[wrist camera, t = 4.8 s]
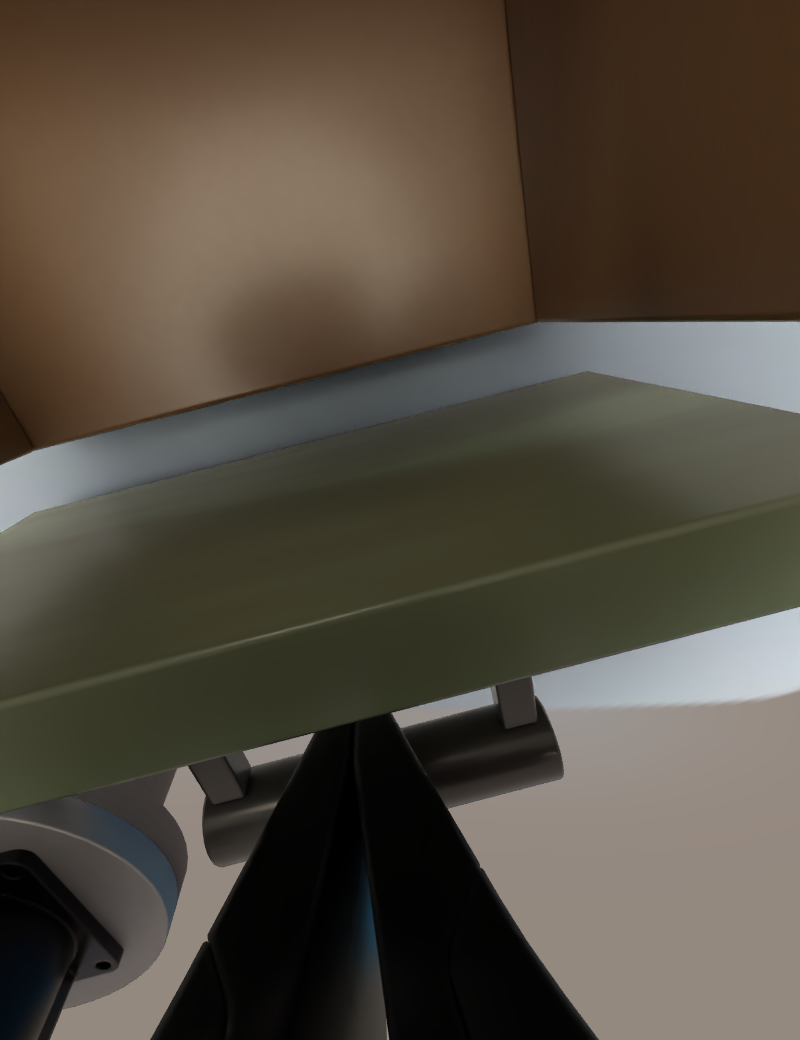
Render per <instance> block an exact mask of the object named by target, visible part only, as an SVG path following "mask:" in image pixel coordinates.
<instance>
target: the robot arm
mask: <svg viewBox="0 0 800 1040" xmlns="http://www.w3.org/2000/svg"><path fill="white" fill-rule="evenodd" d="M208 941H209V942H207V941H206V942H204V943H203V944H202V946H201V948H200V950H199V952H198V953H197V955H196V957H195V959H194V961H193V963H192V965H191V967H190V968H189V970H188V972H187V974H186V976H185V978H184V980H183V982H182V983H181V985H180V987H179V989H178V991H177V992H176V994H175V996H174V998H173V1000H172V1002H171V1003H170V1005H169V1007H168V1009H167V1011H166V1012H165V1014H164V1016H163V1018H162V1020H161V1021H160V1023H159V1025H158V1027H157V1029H156V1031H155V1032H154V1034H153V1036H152V1038H151V1039H150V1040H387V1035H386V1034H387V1033H386V1032H387V1031H386V1019H387V1026H388V1034H389V1040H599V1039H598V1038H597V1037H596V1035H595V1034H594V1033H593V1031H592V1030H591V1029H590V1027H589V1026H588V1025H587V1023H586V1022H585V1021H584V1020H583V1018H582V1017H581V1015H580V1014H579V1013H578V1011H577V1010H576V1009H575V1007H574V1006H573V1005H572V1003H571V1002H570V1001H569V999H568V998H567V997H566V995H565V994H564V993H563V991H562V990H561V988H560V987H559V986H558V984H557V983H556V981H555V980H554V978H553V977H552V976H551V974H550V973H549V971H548V970H547V969H546V967H545V966H544V964H543V963H542V962H541V960H540V959H539V957H538V956H537V955H536V953H535V952H534V950H533V949H532V947H531V946H530V945H529V943H528V942H527V940H526V939H525V937H524V935H523V934H522V932H521V931H520V929H519V928H518V926H517V924H516V923H515V921H514V920H513V918H512V916H511V915H510V913H509V912H508V910H507V908H506V907H505V905H504V904H503V902H502V900H501V899H500V897H499V896H498V894H497V892H496V890H495V889H494V887H493V885H492V884H491V882H490V880H489V878H488V877H487V875H486V873H485V871H484V870H483V869H482V868H480V864H479V862H478V860H477V859H476V857H475V855H474V853H473V852H472V850H471V848H470V847H469V845H468V843H467V841H466V840H465V838H464V836H463V834H462V833H461V831H460V829H459V828H458V826H457V824H456V823H455V821H454V819H453V818H452V816H451V814H450V812H449V811H448V809H447V807H446V805H445V804H444V802H443V800H442V799H441V797H440V795H439V794H438V792H437V790H436V788H435V787H434V785H433V783H432V782H431V780H430V778H429V776H428V775H427V773H426V771H425V770H424V768H423V766H422V764H421V763H420V761H419V759H418V758H417V756H416V754H415V753H414V751H413V749H412V747H411V746H410V744H409V742H408V741H407V739H406V737H405V735H404V734H403V732H402V730H401V729H400V727H399V725H398V724H397V722H396V720H395V719H394V717H393V715H392V713H388V714H385V715H381V716H377V717H373V718H369V719H365V720H361V721H358V722H354V723H350V724H346V725H342V726H338V727H334V728H331V729H327V730H323V731H319V732H315V733H314V735H313V737H312V739H311V741H310V743H309V744H308V746H307V748H306V750H305V752H304V754H303V756H302V758H301V760H300V761H299V763H298V765H297V767H296V769H295V771H294V773H293V775H292V776H291V778H290V780H289V782H288V784H287V786H286V788H285V790H284V792H283V793H282V795H281V797H280V799H279V801H278V803H277V805H276V807H275V809H274V810H273V812H272V814H271V816H270V818H269V820H268V822H267V824H266V826H265V827H264V829H263V831H262V833H261V835H260V837H259V839H258V841H257V843H256V844H255V846H254V848H253V850H252V852H251V854H250V856H249V858H248V860H247V861H246V864H245V865H244V867H243V869H242V871H241V873H240V875H239V877H238V878H237V880H236V882H235V884H234V886H233V888H232V890H231V892H230V894H229V895H228V898H227V899H226V901H225V903H224V905H223V907H222V909H221V910H220V912H219V914H218V916H217V918H216V920H215V922H214V924H213V926H212V927H211V929H210V931H209V933H208ZM123 953H124V949H123V947H122V946H121V945H120V944H119V943H118V942H117V941H116V940H115V939H114V938H113V936H112V935H111V934H110V933H109V932H108V931H107V930H106V929H105V928H104V927H103V926H102V925H101V924H100V922H99V921H98V920H97V919H96V918H95V917H94V916H93V915H92V914H91V913H90V912H89V911H88V910H87V908H86V907H85V906H84V905H83V904H82V903H81V902H80V901H79V900H78V899H77V898H76V897H75V895H74V894H73V893H72V892H71V891H70V890H69V889H68V888H67V887H66V886H65V885H64V884H63V883H62V881H61V880H60V879H59V878H58V877H57V876H56V875H55V874H54V873H53V872H52V871H51V870H50V869H49V867H48V866H47V865H46V864H45V863H44V862H43V861H42V860H41V859H40V858H39V857H38V856H37V855H36V854H35V853H33V852H31V851H28V850H25V849H14V850H9V851H5V852H1V853H0V1040H50V1038H51V1035H52V1033H53V1030H54V1028H55V1026H56V1023H57V1021H58V1018H59V1016H60V1013H61V1011H62V1009H63V1006H64V1004H65V1001H66V999H67V997H68V994H69V992H70V989H71V987H72V985H73V982H76V981H80V980H84V979H88V978H91V977H95V976H99V975H103V974H107V973H110V972H113V971H115V970H116V969H117V968H118V967H119V964H120V961H121V958H122V956H123Z"/></svg>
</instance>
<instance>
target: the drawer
mask: <svg viewBox="0 0 800 1040" xmlns="http://www.w3.org/2000/svg"><path fill="white" fill-rule="evenodd" d="M537 322H800V0H0V465H2V464H4V463H6V462H9V461H11V460H14V459H16V458H19V457H21V456H23V455H26V454H28V453H31V452H32V451H35V450H39V449H43V448H47V447H51V446H55V445H59V444H62V443H66V442H70V441H74V440H78V439H82V438H86V437H90V436H94V435H98V434H102V433H106V432H110V431H113V430H117V429H121V428H125V427H129V426H133V425H137V424H141V423H145V422H149V421H153V420H157V419H161V418H165V417H168V416H172V415H176V414H180V413H184V412H188V411H192V410H196V409H200V408H204V407H208V406H212V405H216V404H219V403H223V402H227V401H231V400H235V399H239V398H243V397H247V396H251V395H255V394H259V393H263V392H267V391H271V390H274V389H278V388H282V387H286V386H290V385H294V384H298V383H302V382H306V381H310V380H314V379H318V378H322V377H325V376H329V375H333V374H337V373H341V372H345V371H349V370H353V369H357V368H361V367H365V366H369V365H373V364H377V363H380V362H384V361H388V360H392V359H396V358H400V357H404V356H408V355H412V354H416V353H420V352H424V351H428V350H431V349H435V348H439V347H443V346H447V345H451V344H455V343H459V342H463V341H467V340H471V339H475V338H479V337H482V336H486V335H490V334H494V333H498V332H502V331H506V330H510V329H514V328H518V327H522V326H526V325H530V324H534V323H537ZM797 607H800V414H799V413H794V412H789V411H784V410H779V409H774V408H769V407H764V406H759V405H754V404H749V403H744V402H739V401H734V400H729V399H724V398H719V397H714V396H709V395H704V394H699V393H694V392H689V391H684V390H679V389H674V388H669V387H664V386H659V385H654V384H649V383H644V382H639V381H634V380H629V379H624V378H619V377H614V376H609V375H604V374H599V373H594V372H589V371H586V372H582V373H578V374H574V375H571V376H567V377H563V378H559V379H555V380H551V381H547V382H543V383H539V384H535V385H531V386H527V387H524V388H520V389H516V390H512V391H508V392H504V393H500V394H496V395H492V396H488V397H484V398H481V399H477V400H473V401H469V402H465V403H461V404H457V405H453V406H449V407H445V408H441V409H437V410H434V411H430V412H426V413H422V414H418V415H414V416H410V417H406V418H402V419H398V420H394V421H391V422H387V423H383V424H379V425H375V426H371V427H367V428H363V429H359V430H355V431H351V432H347V433H344V434H340V435H336V436H332V437H328V438H324V439H320V440H316V441H312V442H308V443H304V444H301V445H297V446H293V447H289V448H285V449H281V450H277V451H273V452H269V453H265V454H261V455H257V456H254V457H250V458H246V459H242V460H238V461H234V462H230V463H226V464H222V465H218V466H214V467H211V468H207V469H203V470H199V471H195V472H191V473H187V474H183V475H179V476H175V477H171V478H167V479H164V480H160V481H156V482H152V483H148V484H144V485H140V486H136V487H132V488H128V489H124V490H121V491H117V492H113V493H109V494H105V495H101V496H97V497H93V498H89V499H85V500H81V501H77V502H74V503H70V504H66V505H62V506H58V507H54V508H50V509H46V510H42V511H38V512H34V513H33V514H31V515H30V516H28V517H26V518H25V519H23V520H21V521H20V522H18V523H16V524H15V525H13V526H11V527H10V528H8V529H6V530H5V531H3V532H2V533H0V814H3V813H7V812H11V811H15V810H18V809H22V808H26V807H30V806H34V805H38V804H42V803H45V802H49V801H53V800H57V799H61V798H65V797H69V796H72V795H76V794H80V793H84V792H88V791H92V790H95V789H99V788H103V787H107V786H111V785H115V784H119V783H122V782H126V781H130V780H134V779H138V778H142V777H146V776H149V775H153V774H157V773H161V772H165V771H169V770H173V769H176V768H180V767H184V766H188V767H189V769H190V770H191V772H192V773H193V775H194V777H195V778H196V780H197V782H198V783H199V784H200V786H201V788H202V790H203V791H204V793H205V795H206V797H205V801H204V806H203V818H202V819H203V820H202V827H203V837H204V844H205V848H206V851H207V854H208V856H209V858H210V860H211V861H212V862H213V864H214V865H216V866H218V867H226V866H229V865H233V864H237V863H241V862H245V861H247V860H248V858H249V856H250V854H251V852H252V850H253V848H254V846H255V844H256V843H257V841H258V839H259V837H260V835H261V833H262V831H263V829H264V827H265V826H266V824H267V822H268V820H269V818H270V816H271V814H272V812H273V810H274V809H275V807H276V805H277V803H278V801H279V799H280V797H281V795H282V793H283V792H284V790H285V788H286V786H287V784H288V782H289V780H290V778H291V776H292V775H293V773H294V771H295V769H296V767H297V765H298V763H299V761H300V760H301V758H302V756H303V754H304V753H303V754H299V755H296V756H292V757H288V758H284V759H281V760H277V761H273V762H269V763H265V764H261V765H257V766H253V767H251V766H250V764H249V762H248V760H247V758H246V757H245V755H244V753H243V751H246V750H249V749H253V748H257V747H261V746H265V745H269V744H273V743H276V742H280V741H284V740H288V739H292V738H296V737H299V736H304V735H307V734H311V733H315V732H319V731H323V730H327V729H331V728H334V727H338V726H342V725H346V724H350V723H354V722H358V721H361V720H365V719H369V718H373V717H377V716H381V715H385V714H388V713H392V712H396V711H400V710H404V709H408V708H412V707H415V706H419V705H423V704H427V703H431V702H435V701H439V700H442V699H446V698H450V697H454V696H458V695H462V694H466V693H469V692H473V691H477V690H481V689H485V688H489V687H491V691H492V696H493V701H494V704H492V705H488V706H484V707H480V708H477V709H473V710H469V711H465V712H461V713H457V714H454V715H450V716H446V717H442V718H438V719H435V720H431V721H427V722H423V723H419V724H415V725H411V726H408V727H404V728H400V729H401V730H402V732H403V734H404V735H405V737H406V739H407V741H408V742H409V744H410V746H411V747H412V749H413V751H414V753H415V754H416V756H417V758H418V759H419V761H420V763H421V764H422V766H423V768H424V770H425V771H426V773H427V775H428V776H429V778H430V780H431V782H432V783H433V785H434V787H435V788H436V790H437V792H438V794H439V795H440V797H441V799H442V800H443V802H444V804H445V805H446V807H447V809H448V808H452V807H455V806H459V805H463V804H467V803H471V802H474V801H478V800H482V799H486V798H490V797H494V796H497V795H501V794H505V793H509V792H513V791H517V790H521V789H524V788H528V787H532V786H536V785H540V784H544V783H547V782H551V781H555V780H559V779H561V778H562V777H563V774H564V769H563V761H562V757H561V753H560V749H559V746H558V742H557V739H556V736H555V733H554V730H553V728H552V725H551V723H550V720H549V718H548V716H547V713H546V711H545V709H544V707H543V705H542V704H541V702H540V701H539V699H538V698H537V697H536V696H535V695H534V689H533V682H532V676H535V675H539V674H543V673H546V672H550V671H554V670H558V669H562V668H566V667H570V666H573V665H577V664H581V663H585V662H589V661H593V660H597V659H600V658H604V657H608V656H612V655H616V654H620V653H624V652H627V651H631V650H635V649H639V648H643V647H647V646H651V645H654V644H658V643H662V642H666V641H670V640H674V639H678V638H681V637H685V636H689V635H693V634H697V633H701V632H704V631H708V630H712V629H716V628H720V627H724V626H728V625H731V624H735V623H739V622H743V621H747V620H751V619H755V618H758V617H762V616H766V615H770V614H774V613H778V612H782V611H785V610H789V609H793V608H797Z"/></svg>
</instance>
